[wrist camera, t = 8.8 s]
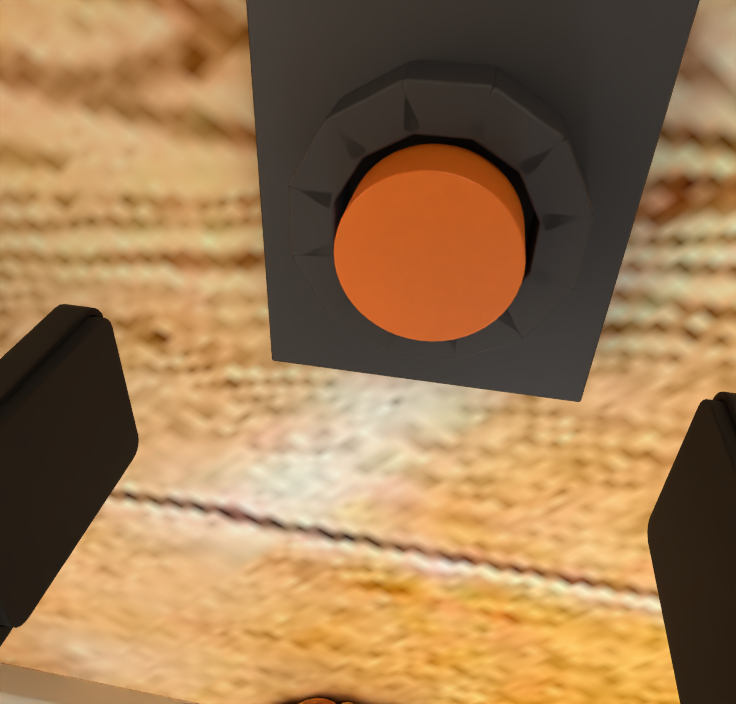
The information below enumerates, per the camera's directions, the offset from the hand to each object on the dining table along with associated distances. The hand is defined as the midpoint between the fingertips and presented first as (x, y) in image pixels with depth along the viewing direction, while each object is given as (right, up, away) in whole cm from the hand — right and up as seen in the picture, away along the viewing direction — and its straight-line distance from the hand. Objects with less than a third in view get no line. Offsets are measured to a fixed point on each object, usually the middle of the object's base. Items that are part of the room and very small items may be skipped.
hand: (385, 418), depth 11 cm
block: (+2, +6, +9) cm, 11 cm away
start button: (+1, +4, +6) cm, 7 cm away
